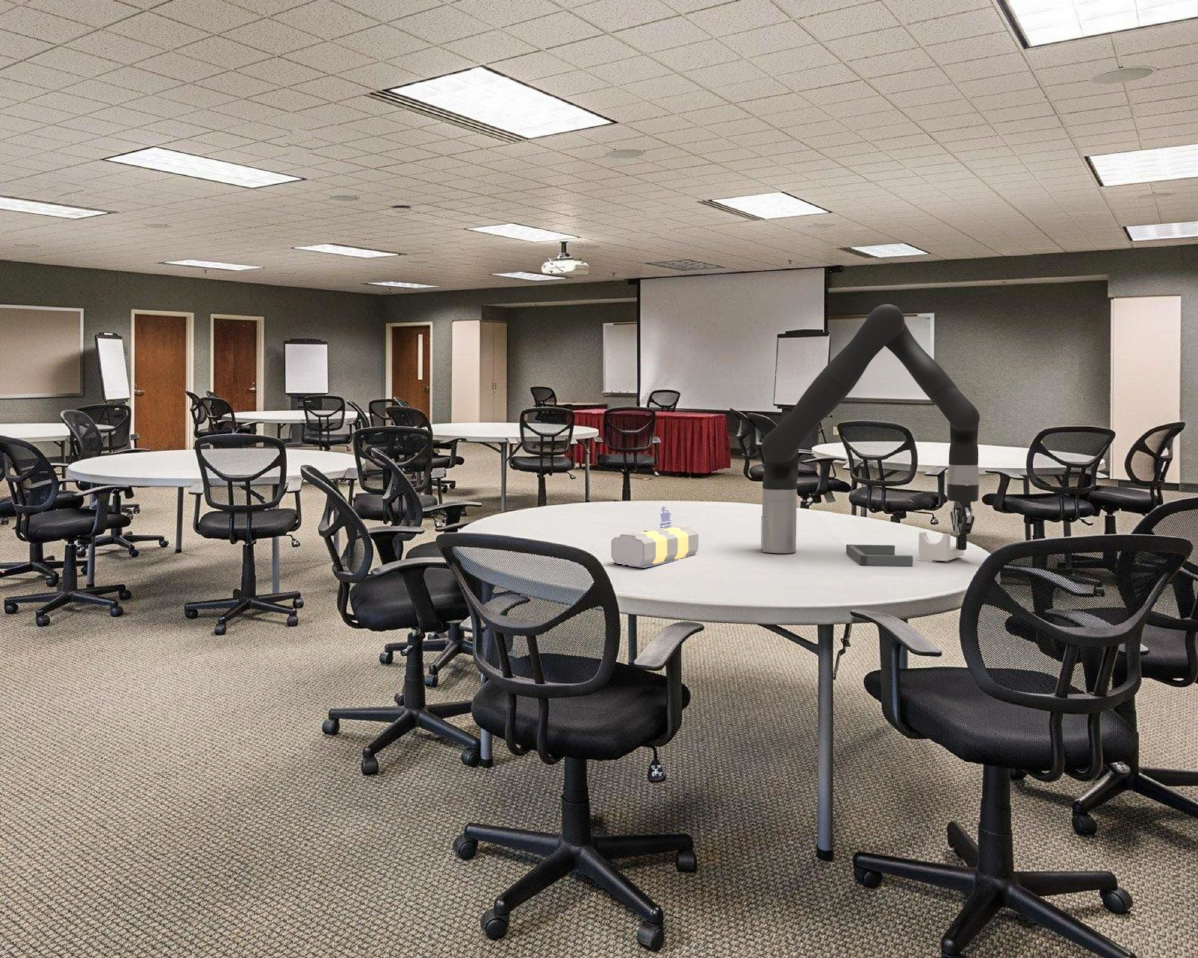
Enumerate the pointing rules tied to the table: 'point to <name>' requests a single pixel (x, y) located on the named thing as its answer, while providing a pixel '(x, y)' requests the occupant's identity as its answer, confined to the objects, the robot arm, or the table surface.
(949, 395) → the robot arm
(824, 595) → the table surface
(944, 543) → the bracket
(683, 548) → the grey yellow banded block
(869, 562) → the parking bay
